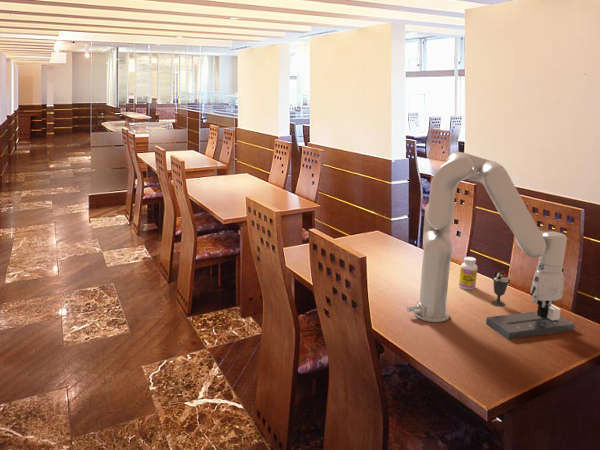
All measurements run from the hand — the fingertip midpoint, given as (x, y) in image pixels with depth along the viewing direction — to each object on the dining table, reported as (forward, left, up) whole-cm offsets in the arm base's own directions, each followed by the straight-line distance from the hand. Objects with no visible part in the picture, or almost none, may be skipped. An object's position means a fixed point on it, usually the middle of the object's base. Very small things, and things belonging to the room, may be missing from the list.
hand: (541, 316), depth 174 cm
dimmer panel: (-5, 0, -4) cm, 6 cm away
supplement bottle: (-5, +38, -4) cm, 39 cm away
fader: (+4, 0, -1) cm, 4 cm away
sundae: (-3, +20, -4) cm, 21 cm away
